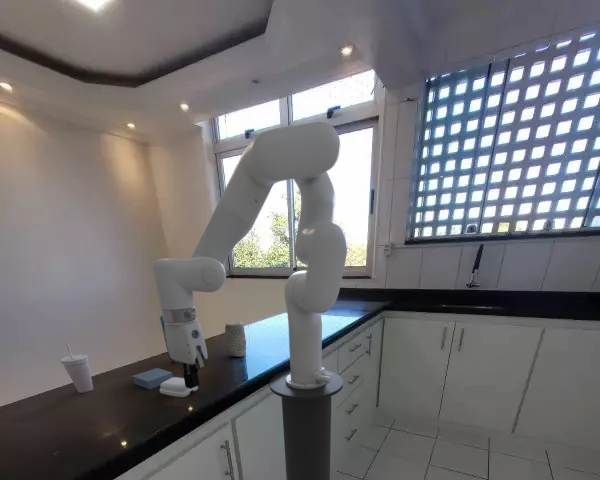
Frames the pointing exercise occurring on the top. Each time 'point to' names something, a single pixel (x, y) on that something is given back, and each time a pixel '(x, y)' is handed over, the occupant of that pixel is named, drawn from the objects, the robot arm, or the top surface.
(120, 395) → the top surface
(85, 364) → the smoothie
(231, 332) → the carving
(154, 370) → the rubber pad
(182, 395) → the white clamshell food container
